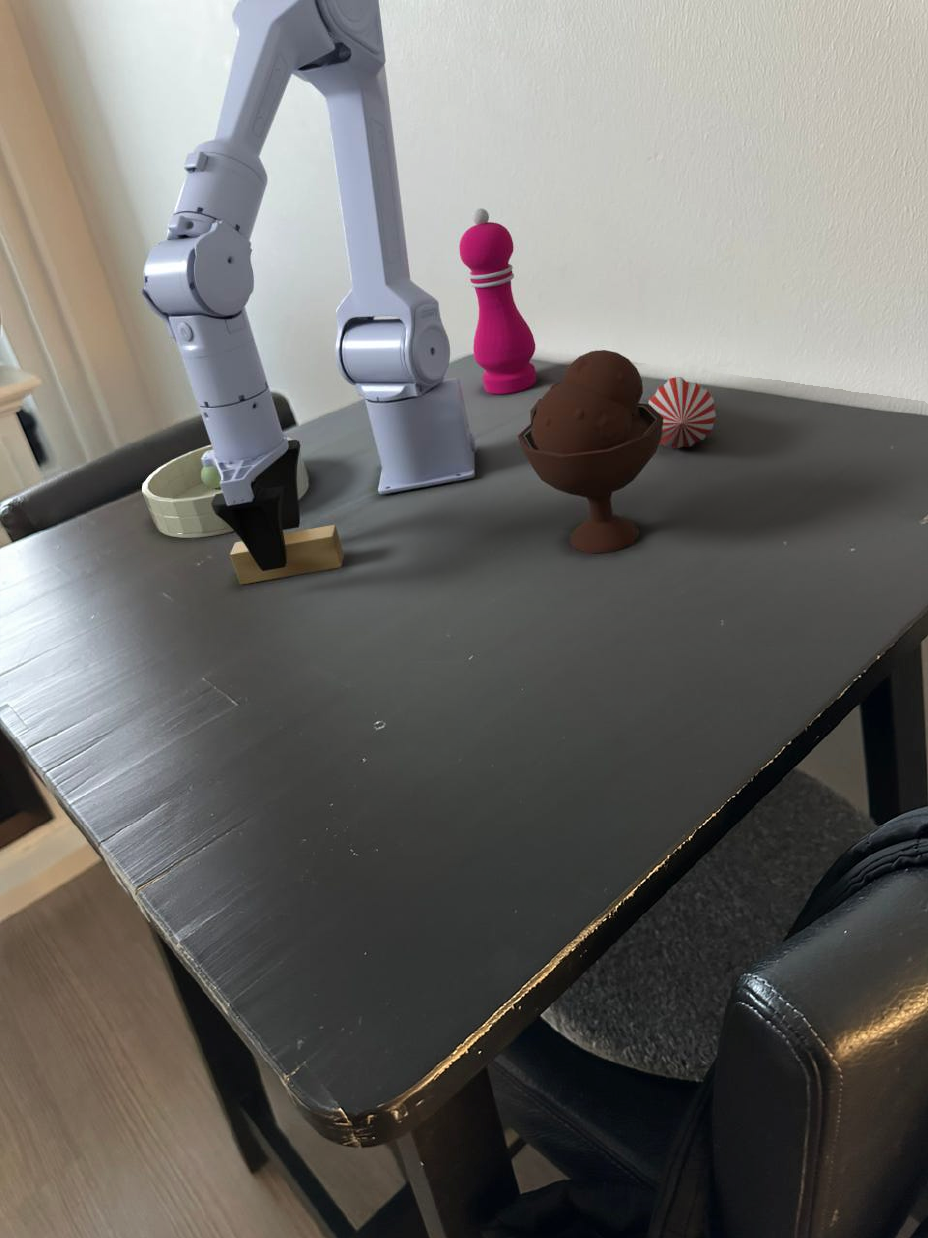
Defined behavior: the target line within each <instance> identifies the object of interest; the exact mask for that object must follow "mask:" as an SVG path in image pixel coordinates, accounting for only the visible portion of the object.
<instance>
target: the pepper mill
mask: <svg viewBox="0 0 928 1238" xmlns="http://www.w3.org/2000/svg"><path fill="white" fill-rule="evenodd" d="M489 215H490V214H489V212H488V210H486V209H485V208H477V209H476V210H474V212H473V214H472V221H473V223H474V224H475V225H472V226H471V227H469V228H468V229H467V230H466V231H465V232H464V233H463V234H462V237H461V239H460V241H459V247H458V248H459V256H460V259H461V262H462V263H463V264H464V265H465V266H466V267H467V268H468V269H469V270H470V272H469V273H468V278H469V280H470V282H469V285H470V286H471V287H472V288H474V290H475V294H476V297H477V304H478V318H477V319H478V320H477V325H476V328H475V332H474V338H473V347H472V349H473V356H474V361H475V362H476V364H477V365H478V366H479V367H481V368H482V369H483V370H484V371H485V372H484V373H483V374H482V377H481V378H482V383H483V387H484V390H485V392H486V393H488V394H490V395H491V394H492V395H509V394H514V393H518V392H522V391H524V390H527V389H529V388H531V387H533V386H534V385H535V384H536V382H537V381H538V379H537V373H536V372H537V371H536V366H535V365H534V364H533V363H531V362H530V361H531V360H532V359H533V357H534V354H535V351H536V342H535V338H534V334H533V333H532V330H531V329H530V327H529V325H528V324H527V322H526V320H525V319H524V317H523V316H522V314H521V312H520V311H519V309H518V307H517V305H516V302H515V299H514V295H513V294H514V293H513V291H512V280H513V279H514V278H515V274H514V273H513V265H512V264H510V263H509V262H510V259H511V257H512V255H513V253H514V247H515V246H514V241H513V237H512V235H511V233H510V232H509V231H508V228H506V227H505V226H504V225H502V224H500V223H497V222H492V221H490V220H489V219H490V216H489Z"/></svg>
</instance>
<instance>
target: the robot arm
mask: <svg viewBox="0 0 928 1238" xmlns="http://www.w3.org/2000/svg"><path fill="white" fill-rule="evenodd" d="M231 18H232V22H233V26H234V29H235V32H236V34H237V41H236V46H235V50H234V54H233V59H232V64H231V68H230V72H229V76H228V79H227V84H226V87H225V88H226V89H225V93H224V97H223V102H222V106H221V111H220V114H219V119H218V123H217V128H216V131H215V136H214V138H213V139H212V140H207V141H204V142H202V143H199V144H198V145H197V146H196V147H195V148H194V150H193V152H190V153H187V155H186V157H185V161H184V164H183V169H184V170H185V172H186V173H185V178H184V180H183V184H182V187H181V189H180V193H179V195H178V200H177V202H176V206H175V209H174V212H173V215H171V216H170V218H169V220H168V224H167V235H166V239H164V240H161V241H160V242H158V245H154V246H153V247H152V248H151V250H150V251H149V253H148V256H147V257H146V261H145V263H144V265H143V272H142V273H143V274H142V275H143V284H144V285H143V286H144V287H143V288H141V289H140V293H141V296H142V298H143V299H144V302H145V304H146V305H147V307H149V308H150V310H151V311H152V312H153V313H154V314H156V316H158V317H159V318H160V319H161V320H162V321H163V322H164V324H165V326H166V327H167V328H166V329H167V331H168V334H169V337H170V338H171V339H173V340H174V341H175V343H177V347H178V350H179V353H180V356H181V358H182V361H183V365H184V368H185V371H186V373H187V377H188V379H189V383H190V385H191V388H192V391H193V394H194V397H195V400H196V403H197V406H198V409H199V411H200V415H201V418H202V421H203V424H204V426H205V427H204V428H205V430H206V433H207V436H208V440H209V442H210V445H212V448H213V450H210V451H207V452H205V453H204V455H203V457H202V458H201V460H202V463H203V466H205V467H208V466H216V467H217V469H218V471H219V474H220V476H221V478H222V479H221V482H220V486H221V489H222V492H223V493H219V494H215V496H214V498H213V500H212V502H211V505H212V508H213V510H214V512H215V514H216V515H217V516H218V517H220V518H221V519H222V520H224V521H225V522H226V523H227V524H228V525H229V526H230V527H231V528H232V529H233V530H234V531H233V532H235V533H236V535H237V536H238V538H239V539H240V540H241V541H243V543H244V544H245V546H246V547H247V549H248V551H249V552H250V554H251V555H252V557H253V559H254V560H255V562H256V563H257V565H258V566H259V567H260V569H261V570H262V571H267V570H272V569H278V568H284V567H286V564H287V554H286V546H285V540H284V534H285V533H284V531H286V530H292V529H296V528H300V523H301V514H300V504H299V500H298V491H297V465H298V457H299V452H301V443H300V440H298V439H293V440H288V441H287V438H286V437H287V436H286V434H285V433H284V431H283V430H282V426H281V423H280V419H279V416H278V412H277V409H276V405H275V403H274V399H273V396H272V393H271V389H270V386H269V382H268V380H267V377H266V373H265V370H264V366H263V363H262V360H261V356H260V352H259V350H258V346H257V343H256V339H255V336H254V332H253V329H252V326H251V323H250V319H249V316H248V313H247V308H246V305H247V304H248V302H249V300H250V297H251V295H252V294H253V292H254V290H255V289H254V287H255V274H254V269H253V264H252V260H251V259H252V258H251V257H252V252H253V249H252V247H251V246H252V242H251V237H252V233H253V232H254V231H253V230H254V227H255V224H256V221H257V217H258V215H259V211H260V208H261V206H262V201H263V198H264V195H265V191H266V189H267V186H268V180H269V179H268V173H267V171H266V169H265V167H264V165H263V162H262V160H261V158H260V155H261V153H262V151H263V148H264V146H265V142H266V140H267V137H268V135H269V133H270V131H271V128H272V125H273V122H274V120H275V118H276V115H277V113H278V110H279V107H280V105H281V102H282V100H283V97H284V95H285V93H286V89H287V88H288V85H289V83H290V82H289V81H290V80H291V77H292V75H293V76H295V77H297V78H298V79H300V80H302V81H303V82H306V83H310V84H311V85H312V86H313V87H314V88H315V89H316V90H317V91H318V92H319V93H320V94H321V95H322V96H323V98H324V99H325V102H326V108H327V116H328V123H329V130H330V137H331V144H332V145H331V146H332V151H333V159H334V166H335V174H336V181H337V188H338V195H339V202H340V209H341V216H342V217H341V218H342V224H343V231H344V237H345V246H346V252H347V259H348V267H349V273H350V275H349V276H350V280H351V281H350V282H351V289H350V290H349V292H348V293H347V294H346V296H345V297H344V298H343V300H342V301H341V302H340V303H339V305H338V307H337V308H336V311H335V316H336V321H337V323H336V324H337V333H336V340H335V348H334V351H335V352H334V353H335V361H336V366H337V368H338V370H339V371H338V372H339V373H340V375H341V376H342V378H343V379H344V380H345V381H346V382H347V383H348V384H350V385H351V386H355V389H356V393H357V396H359V397H364V401H365V405H366V409H367V410H366V411H367V414H368V417H369V421H370V426H371V430H372V434H373V437H374V441H375V445H376V449H377V453H378V458H379V462H380V465H381V471H380V472H381V473H380V478H379V484H378V489H377V492H378V494H379V495H387V494H393V493H398V492H403V491H410V490H414V489H420V488H427V487H431V486H435V485H442V484H447V483H453V482H459V481H464V480H469V479H473V478H475V476H476V471H475V470H476V468H475V467H476V466H475V464H476V463H475V452H476V451H477V448H476V442H475V438H474V437H475V436H474V434H473V432H471V428H470V424H469V419H468V413H467V408H466V403H465V399H464V393H463V389H462V385H461V382H460V379H459V378H457V377H456V378H455V377H454V378H446V379H445V378H444V377H445V376H446V373H447V370H448V368H449V364H450V359H451V343H450V340H449V336H448V334H447V331H446V329H445V327H444V324H443V322H442V318H441V313H440V304H439V301H438V300H437V298H435V297H434V296H433V295H431V294H430V293H428V292H427V291H425V290H424V289H423V288H421V287H420V286H419V285H417V284H416V283H415V282H414V281H413V280H412V279H411V273H410V266H409V257H408V248H407V242H406V232H405V231H406V230H405V224H404V223H405V221H404V215H403V214H404V213H403V207H402V206H403V205H402V198H401V190H400V180H399V173H398V163H397V155H396V148H395V139H394V129H393V123H392V122H393V121H392V113H391V105H390V97H389V96H390V95H389V89H388V79H387V72H386V53H385V52H386V51H385V45H384V44H385V43H384V36H383V35H384V34H383V27H382V18H381V11H380V1H379V0H238V1H237V3H236V4H235V6H234V8H233V11H232V13H231ZM376 317H394V318H380V319H379V318H378V319H377V318H376ZM375 318H376V319H375Z"/></svg>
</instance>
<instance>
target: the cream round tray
mask: <svg viewBox="0 0 928 1238" xmlns="http://www.w3.org/2000/svg"><path fill="white" fill-rule="evenodd" d="M286 438H287V441H288V440H294V439H292V438H291V437H289V436H286ZM210 450H213V448H212V445H211V444H209V445H205V446H203V447H200V448H197V449H194V450H191V451H189V452H187V453H184V454H182V455H180V456H178V457H176V458H174V459H171V460H170V461H168V462H166V463H164V464H162V465H161V466H159V467H158V468H156V470H153V472H152V473H151V474H149V475H148V476H147V477H146V479H145V481H144V482H143V483H142V488H141V490H142V491H141V493H142V496H143V497H144V500H145V503H146V505H147V508H148V510H149V513H150V516H151V519H152V521H153V523H154V524H155V527H156V529H157V530H158V531H159V532H160V533H162V534H163V535H166V536H168V537H173V538H178V539H179V538H182V539H194V538H195V539H197V538H198V539H199V538H207V537H212V536H218V535H224V534H228V533H233V532H235V531H234V530H233V529H232V528H231V527H230V526H229V525H228V524H227V523H226V522H225V521H224V520H222V519H221V518H220V517H218V516H217V515H216V514H215V512H214V510H213V508H212V505H211V502H212V500H213V498H214V496H215V494H219V493H223V492H222V489H221V487H220V488H210V487H208V486H207V485H205V484H204V482H203V481H202V478H201V471H202V469H203V467H204V466H203V463H202V460H201V458H202V457H203V455H204V453H205V452H207V451H210ZM309 480H310V479H309V476H308V471H307V469H306V466H305V462H304V459H303V455H302V451H300V452H299V457H298V465H297V491H298V501H300V500H301V499H302V498H303V497H304V496H305V494H306V493H307V491H308V489H309V487H310V481H309Z"/></svg>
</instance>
